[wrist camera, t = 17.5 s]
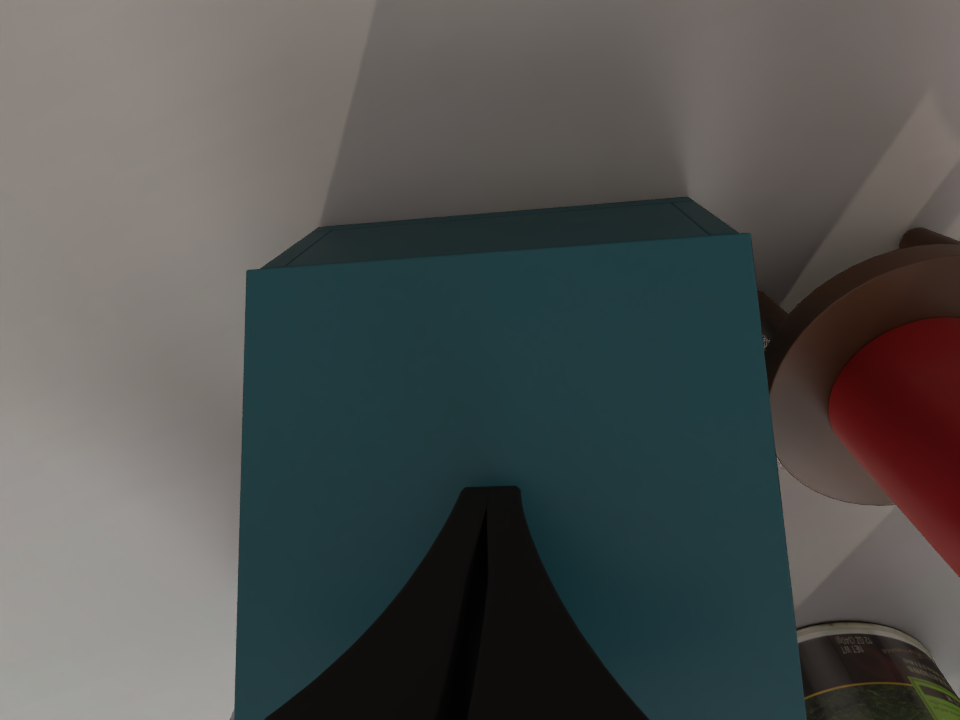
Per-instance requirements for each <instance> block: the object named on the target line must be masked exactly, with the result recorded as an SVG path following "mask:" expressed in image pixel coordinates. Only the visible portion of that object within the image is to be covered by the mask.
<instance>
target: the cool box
mask: <svg viewBox="0 0 960 720" xmlns="http://www.w3.org/2000/svg"><path fill="white" fill-rule="evenodd" d="M725 234H739V233H738V232H737V231H735V230H734V229H733V228H731V227H730V226H728V225H727V224H726V223H724V222H723V221H721V220H720V219H719V218H717V217H716V216H714V215H713V214H712V213H710V212H709V211H707V210H706V209H704V208H703V207H702V206H700V205H699V204H697V203H696V202H694V201H693V200H692V199H691V198H689V197H680V198H668V199H656V200H644V201H632V202H619V203H607V204H595V205H583V206H570V207H558V208H546V209H534V210H522V211H509V212H497V213H485V214H473V215H461V216H448V217H436V218H424V219H412V220H399V221H387V222H375V223H363V224H351V225H338V226H326V227H318V228H317V229H315V230H314V231H312V232H311V233H310V234H308V235H307V236H306V237H304V238H303V239H301V240H300V241H298V242H297V243H296V244H294V245H293V246H291V247H290V248H289V249H287V250H286V251H284V252H283V253H282V254H280V255H279V256H277V257H276V258H274V259H273V260H272V261H270V262H269V263H267V264H266V265H265V266H263V267H262V268H260V269H268V268H281V267H295V266H308V265H322V264H335V263H349V262H362V261H375V260H389V259H402V258H416V257H429V256H443V255H456V254H470V253H483V252H497V251H510V250H523V249H537V248H550V247H564V246H577V245H591V244H604V243H618V242H631V241H644V240H658V239H671V238H685V237H698V236H712V235H725Z"/></svg>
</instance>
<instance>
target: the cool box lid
mask: <svg viewBox="0 0 960 720" xmlns="http://www.w3.org/2000/svg"><path fill="white" fill-rule="evenodd" d="M515 485H516V486H517V487H519V488H520V489H521V497H522V506H523V510H524V515H525V518H526V521H527V525H528V528H529V531H530V534H531V536H532V539H533V541H534V544H535V546H536V549H537V552H538V554H539V556H540V559H541V561H542V563H543V565H544V567H545V570H546V572H547V574H548V576H549V578H550V580H551V582H552V584H553V586H554V588H555V590H556V591H557V593H558V595H559V597H560V599H561V600H562V602H563V604H564V606H565V607H566V609H567V611H568V613H569V614H570V616H571V617H572V619H573V621H574V622H575V624H576V625H577V627H578V629H579V630H580V632H581V633H582V635H583V636H584V637H585V639H586V640H587V642H588V643H589V645H590V646H591V647H592V649H593V650H594V652H595V653H596V654H597V656H598V657H599V659H600V660H601V661H602V663H603V664H604V666H605V667H606V668H607V669H608V671H609V672H610V673H611V675H612V676H613V677H614V678H615V680H616V681H617V682H618V683H619V685H620V686H621V687H622V688H623V690H624V691H625V692H626V693H627V694H628V695H629V697H630V698H631V699H632V700H633V701H634V703H635V704H636V705H637V706H638V707H639V708H640V709H641V710H642V712H643V713H644V714H645V715H646V716H647V717H648V718H649V719H650V720H807V718H806V709H805V701H804V692H803V683H802V675H801V666H800V657H799V649H798V640H797V631H796V623H795V614H794V605H793V597H792V588H791V579H790V571H789V562H788V553H787V545H786V536H785V527H784V519H783V510H782V501H781V493H780V484H779V475H778V467H777V458H776V450H775V441H774V432H773V424H772V415H771V406H770V398H769V389H768V380H767V372H766V363H765V354H764V346H763V337H762V328H761V320H760V311H759V302H758V294H757V285H756V276H755V268H754V259H753V250H752V242H751V234H750V233H739V234H725V235H712V236H698V237H685V238H671V239H658V240H644V241H631V242H618V243H604V244H591V245H577V246H564V247H550V248H537V249H523V250H510V251H497V252H483V253H470V254H456V255H443V256H429V257H416V258H402V259H389V260H375V261H362V262H349V263H335V264H322V265H308V266H295V267H281V268H268V269H254V270H247V272H246V308H245V345H244V382H243V418H242V455H241V492H240V528H239V565H238V602H237V638H236V675H235V712H234V720H265V718H266V717H267V716H269V715H270V714H271V713H273V712H274V711H276V710H277V709H278V708H279V707H281V706H282V705H283V704H284V703H286V702H287V701H288V700H290V699H291V698H292V697H293V696H295V695H296V694H297V693H299V692H300V691H301V690H302V689H304V688H305V687H306V686H307V685H309V684H310V683H311V682H312V681H313V680H315V679H316V678H317V677H318V676H319V675H320V674H321V673H322V672H323V671H325V670H326V669H327V668H328V667H329V666H330V665H331V664H332V663H333V662H334V661H335V660H337V659H338V658H339V657H340V656H341V655H342V654H343V653H344V652H345V651H346V650H347V649H348V648H349V647H350V646H351V645H352V644H354V643H355V641H356V640H357V639H358V638H359V637H360V636H361V635H362V634H363V633H364V632H365V631H366V630H367V629H368V628H369V627H370V626H371V624H372V623H373V622H374V621H375V620H376V619H377V618H378V617H379V616H380V615H381V614H382V612H383V611H384V610H385V609H386V608H387V606H388V605H389V604H390V603H391V602H392V600H393V599H394V598H395V597H396V595H397V594H398V593H399V592H400V590H401V589H402V588H403V586H404V585H405V584H406V583H407V581H408V580H409V578H410V577H411V576H412V574H413V573H414V571H415V570H416V568H417V567H418V565H419V564H420V563H421V561H422V560H423V558H424V557H425V555H426V554H427V552H428V551H429V549H430V548H431V546H432V544H433V543H434V541H435V539H436V538H437V536H438V534H439V533H440V531H441V529H442V528H443V526H444V524H445V522H446V520H447V519H448V517H449V515H450V513H451V511H452V509H453V507H454V505H455V503H456V501H457V499H458V497H459V494H460V492H461V490H463V489H464V488H465V487H483V486H515Z"/></svg>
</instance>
